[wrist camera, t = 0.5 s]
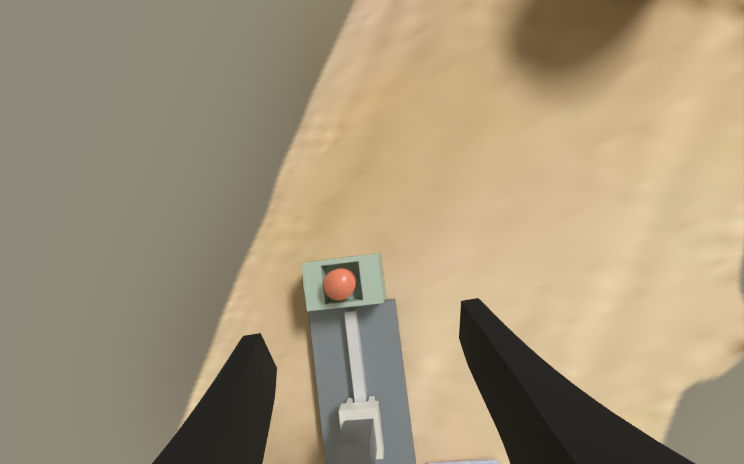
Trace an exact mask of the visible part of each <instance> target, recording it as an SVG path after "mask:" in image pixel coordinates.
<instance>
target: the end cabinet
mask: <svg viewBox="0 0 744 464" xmlns="http://www.w3.org/2000/svg"><path fill="white" fill-rule="evenodd" d="M339 268H348V269H350V270H351V271H353V272H354V274H355V275H356V278H357V287H356V289H355V291H354V292H353V293H352V294H351V295H350V296H349V297H347V298H346V299H343V300H334V299H332V298H330V297H329V296H328V295H327V294H326V292H325V290H324V285H323V284H324V279H325V277H326V276H327V274H328V273H329V272H331V271H333V270H336V269H339ZM302 272H303V288H304V293H305V299H306V308H307V311H315V310H324V309H333V308H343V307H352V306H361V305H371V304H380V303H384V300H385V297H386V290H385V282H384V274H383V266H382V258H381V253H375V254H367V255H359V256H350V257H342V258H334V259H326V260H318V261H311V262H306V263H302Z"/></svg>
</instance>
